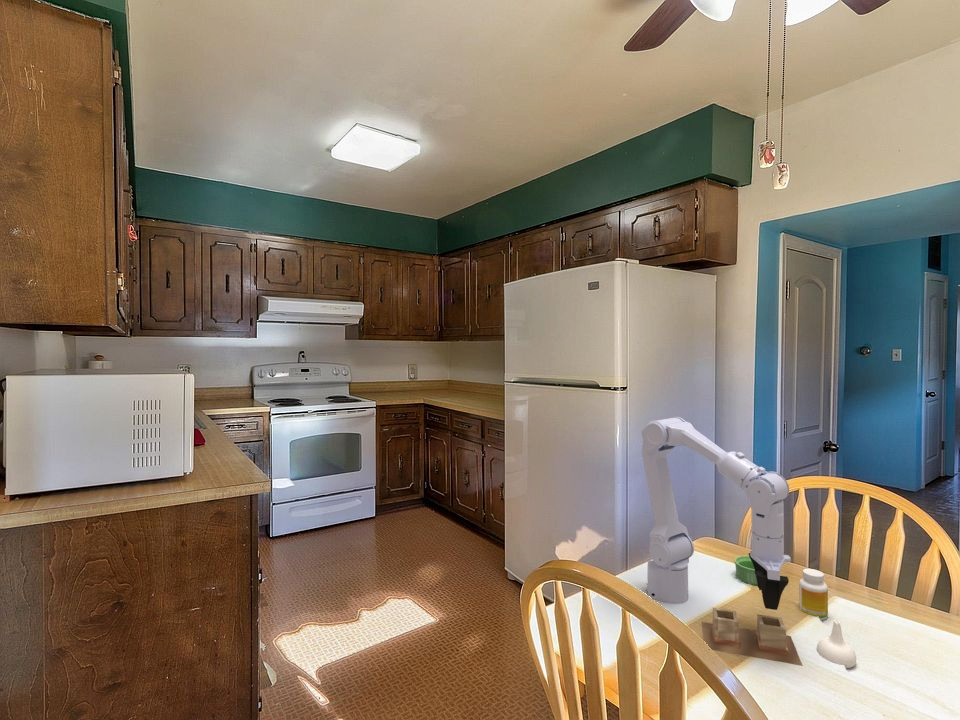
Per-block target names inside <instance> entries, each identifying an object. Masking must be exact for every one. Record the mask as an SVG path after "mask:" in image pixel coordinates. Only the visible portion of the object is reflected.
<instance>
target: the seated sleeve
mask: <svg viewBox="0 0 960 720" xmlns="http://www.w3.org/2000/svg"><path fill="white" fill-rule="evenodd" d="M712 624H713V626H712V625H711V631H712V638H713V643H717V644H723V645H729V646H734V647H740V638H739V629H738V628H739V619H738V614H737V611H736V610H732V609H725V608H718V607H712Z"/></svg>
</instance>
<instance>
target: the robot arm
mask: <svg viewBox="0 0 960 720" xmlns="http://www.w3.org/2000/svg"><path fill="white" fill-rule="evenodd" d="M641 436H642V446H641V447H642V448H641V455H642V460H643V465H644V472H645V476H646V477H645V478H646V482H647V486H648V487H647V488H648V492H649V497H650V503H651V507H652V513H653V517H654V523H655V524H654V525H653V528H652V529H651V531H650V532H649V535H648V536H649V541H650V542H649V548H648V551H649V555H650V557H651V558H650V559H651V560H647V583H646V592H647V596H648V595H649V596H650V597H651V598H652V599H651V600H655V601H656V600H657V601H662V602H665V603H669V604H674V605H677V604H678V605H679V604H684V603H686V602H688V600H689V563H690V558H692V556H693V555H694V552H695V546H694V545H695V544H694V542H693V540H692V538H691V537H690V536H689V531H688V527H686V526H685V525H684V524H682V523H681V522H680V521H679V520H680V519H679V516H678V510H677V505H676V504H677V503H676V499H675V495H674V489H673V485H672V480H671V476H670V475H671V474H670V469H669V465H668V460H667V457H668V455H669V454H670V453H671V452H672V450H673V449H674V448H675V447H687V448H688V449H691V450H692V451H694V452H696V453H697V454H699V455H700V456H702V457H703V458H705V459H707V460H709V462H712V463H713V464H715V465H716V467H717V471H718V473H719V474H720V475H721V476H723V477H725V478H726V479H727V480H729V481H730V482H731V483H733V484H734V485H736V486H738V487H739V488H741V489H742V490H743V491H744V492H745V495H746V497H747V499H748V500H749V501H750V509H751V510H750V511H751V536H750V537H751V541H750V542H751V550H750V552H749V553H748V555H749V557H750V559H751V561H752V563H753V566H754V569H755V575H756V580H757V584H758V585H757V587H758V590H759V591H761V597H762V602H763V606H764V608H765V609H766V610H767V609H768V610H774V611H778V609H779V606H780V605H779V604H780V601H781V597H782V594H783V592H784V590H785V588H786V587H787V586H788V584H789V583H790V581H789V577H788V576H785V575H781V569H782V568H783V566H784V564H785V563H791V561H792V558H791V557H790V555H789V554H785V553H784V552H785V517H784V516H785V508H784V507H785V505H784V502H785V501H784V500H785V499H786V498H787V497H788V496H789V493H790V485H789V483H788V481H787V480H786V478H785V477H784V476H782V475H781V474H780V473H779V472H777V471H766V468H764V467H763V466H758V465H757V464H755V463H754V462H752V461H750V460H749V459H747V458H746V457H745V456H746V455H745V454H744V453H743V452H741V451H738V452H736V451H729V452H728V451H725V450H724V449H723V448H721V447H720V446H719V445H717V444H716V443H714V442H713V441H711V440H710V438H708V437H706V436H705V435H704V434H702V433H701V432H699V431H698V430H697V429H696V428H695V427H694V426H693V424H692V423H691V422H689V421H686V420H685V419H684V418H682V417H680V416H673V417H668V418H664V419H658V420H657V419H656V420H655V419H654V420H649V421H648V422H647V423H646V424H645V426H644V427H643V428H642V430H641ZM653 594H654V595H653Z"/></svg>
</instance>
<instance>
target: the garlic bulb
mask: <svg viewBox="0 0 960 720" xmlns="http://www.w3.org/2000/svg"><path fill="white" fill-rule="evenodd" d="M841 623H842V622H841V621H840V620H837V619H834V620H833V624H832V630H831V634H830V636H825V637H823V638H820V639H819V640H818V641H817V645H816V652H817V653H818V655H820V656H821V657H822V658H823V659H825V660H827V661H829V662H831V663H834V664H838V665H842V666H844V668H845V669H850V668H853V667H854V666H855V665H856V663H857V655H856V652H855V650H854V649H853V647H852V646H851V645H850V644H849V643H847V642H846V640H844V637H843V630H842V626H841Z"/></svg>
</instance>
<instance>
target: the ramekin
mask: <svg viewBox="0 0 960 720" xmlns="http://www.w3.org/2000/svg"><path fill="white" fill-rule="evenodd" d="M733 561H734V565H735V571H736V572H735V573H736V576H737V578H738V580H740V581H741V580H742V582H743V583H745V582H746V584H747V585H748V584H749V585H751V586H752V585H753V586H758V584H757V580H756V575H755V569H754V566H753V563H752V561H751V559H750V557H749V554H747V555H746V554H745V555H738V556H735V558H734V559H733Z"/></svg>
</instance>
